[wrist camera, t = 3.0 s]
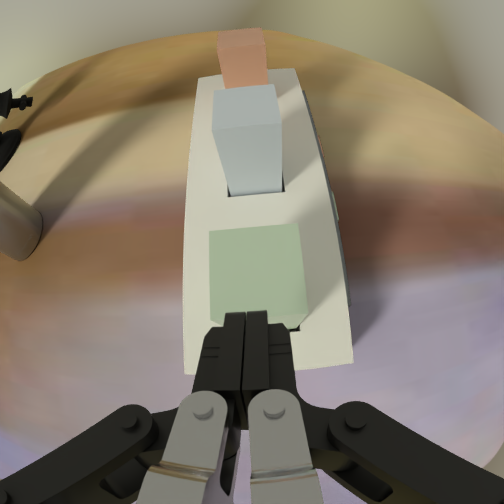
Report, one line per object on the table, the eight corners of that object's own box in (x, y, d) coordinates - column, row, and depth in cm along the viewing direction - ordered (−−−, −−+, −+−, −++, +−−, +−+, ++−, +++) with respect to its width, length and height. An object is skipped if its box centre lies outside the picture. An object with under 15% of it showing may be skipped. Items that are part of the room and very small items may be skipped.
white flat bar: (345, 360, 26) (362, 361, 21) (202, 370, 27) (184, 374, 22) (299, 97, 40) (299, 68, 34) (206, 106, 41) (198, 78, 35)
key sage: (295, 328, 23) (308, 313, 14) (237, 333, 24) (210, 320, 14) (290, 272, 25) (297, 223, 16) (234, 277, 25) (209, 231, 16)
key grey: (281, 194, 28) (281, 123, 18) (231, 199, 28) (211, 130, 19) (276, 156, 30) (274, 84, 20) (230, 161, 30) (213, 90, 20)
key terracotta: (269, 109, 32) (265, 44, 23) (230, 113, 33) (216, 49, 23) (266, 87, 34) (261, 27, 25) (229, 91, 34) (218, 32, 25)
